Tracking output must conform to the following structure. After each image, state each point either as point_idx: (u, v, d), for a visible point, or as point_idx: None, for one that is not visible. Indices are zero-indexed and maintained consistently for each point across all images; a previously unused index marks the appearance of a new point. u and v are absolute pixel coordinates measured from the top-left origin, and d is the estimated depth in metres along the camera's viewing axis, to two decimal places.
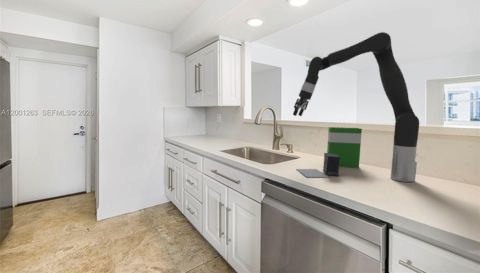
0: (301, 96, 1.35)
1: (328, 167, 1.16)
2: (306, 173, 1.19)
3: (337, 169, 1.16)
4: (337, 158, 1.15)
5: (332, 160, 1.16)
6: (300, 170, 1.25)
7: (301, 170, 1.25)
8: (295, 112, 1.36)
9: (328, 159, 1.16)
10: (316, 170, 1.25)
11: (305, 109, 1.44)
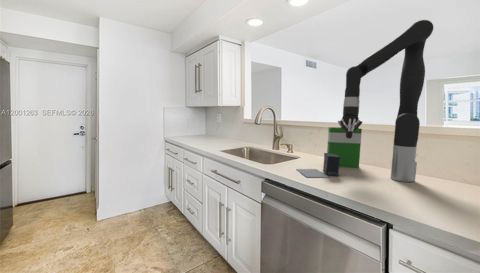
0: (343, 113, 1.19)
1: (328, 167, 1.16)
2: (306, 173, 1.19)
3: (337, 169, 1.16)
4: (337, 158, 1.15)
5: (332, 160, 1.16)
6: (300, 170, 1.25)
7: (301, 170, 1.25)
8: (346, 134, 1.19)
9: (328, 159, 1.16)
10: (316, 170, 1.25)
11: (355, 129, 1.19)
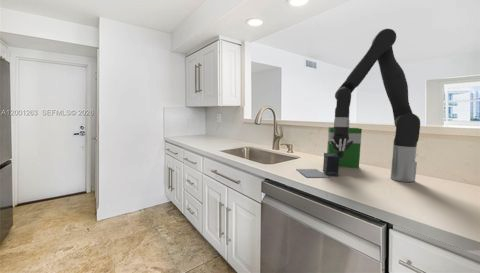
0: (334, 133, 1.20)
1: (328, 167, 1.16)
2: (306, 173, 1.19)
3: (337, 169, 1.16)
4: (337, 158, 1.15)
5: (332, 160, 1.16)
6: (300, 170, 1.25)
7: (301, 170, 1.25)
8: (338, 154, 1.20)
9: (328, 159, 1.16)
10: (316, 170, 1.25)
11: (345, 149, 1.20)
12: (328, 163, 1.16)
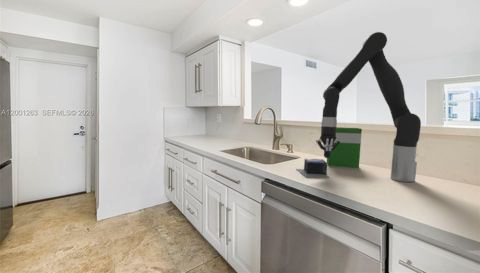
0: (321, 133, 1.19)
1: (318, 172, 1.17)
2: (306, 173, 1.19)
3: (320, 164, 1.17)
4: (308, 164, 1.18)
5: (310, 169, 1.18)
6: (300, 170, 1.25)
7: (301, 170, 1.25)
8: (324, 154, 1.20)
9: (310, 172, 1.18)
10: None
11: (332, 149, 1.19)
12: (314, 172, 1.18)
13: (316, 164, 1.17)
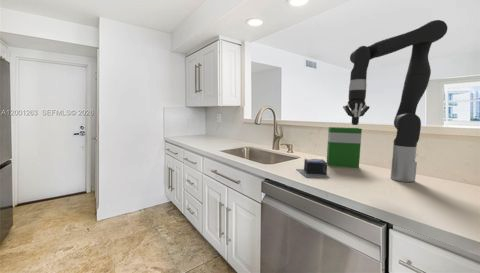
0: (349, 98, 1.10)
1: (318, 172, 1.17)
2: (306, 173, 1.19)
3: (320, 164, 1.17)
4: (308, 164, 1.18)
5: (310, 169, 1.18)
6: (300, 170, 1.25)
7: (301, 170, 1.25)
8: (352, 120, 1.11)
9: (310, 172, 1.18)
10: None
11: (361, 115, 1.10)
12: (314, 172, 1.18)
13: (316, 164, 1.17)
